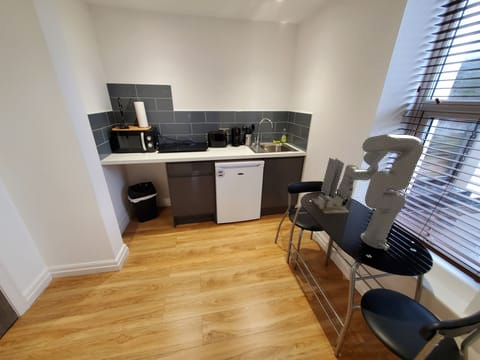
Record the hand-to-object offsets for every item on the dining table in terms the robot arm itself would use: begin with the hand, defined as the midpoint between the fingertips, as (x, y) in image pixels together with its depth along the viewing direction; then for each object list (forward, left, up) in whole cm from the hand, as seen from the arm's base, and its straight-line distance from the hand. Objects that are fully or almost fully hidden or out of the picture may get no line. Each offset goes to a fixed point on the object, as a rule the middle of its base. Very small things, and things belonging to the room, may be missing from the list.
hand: (340, 203), depth 142 cm
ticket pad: (0, +13, -1) cm, 13 cm away
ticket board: (0, +9, -2) cm, 9 cm away
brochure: (+20, -2, -3) cm, 20 cm away
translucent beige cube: (0, 0, -1) cm, 1 cm away
